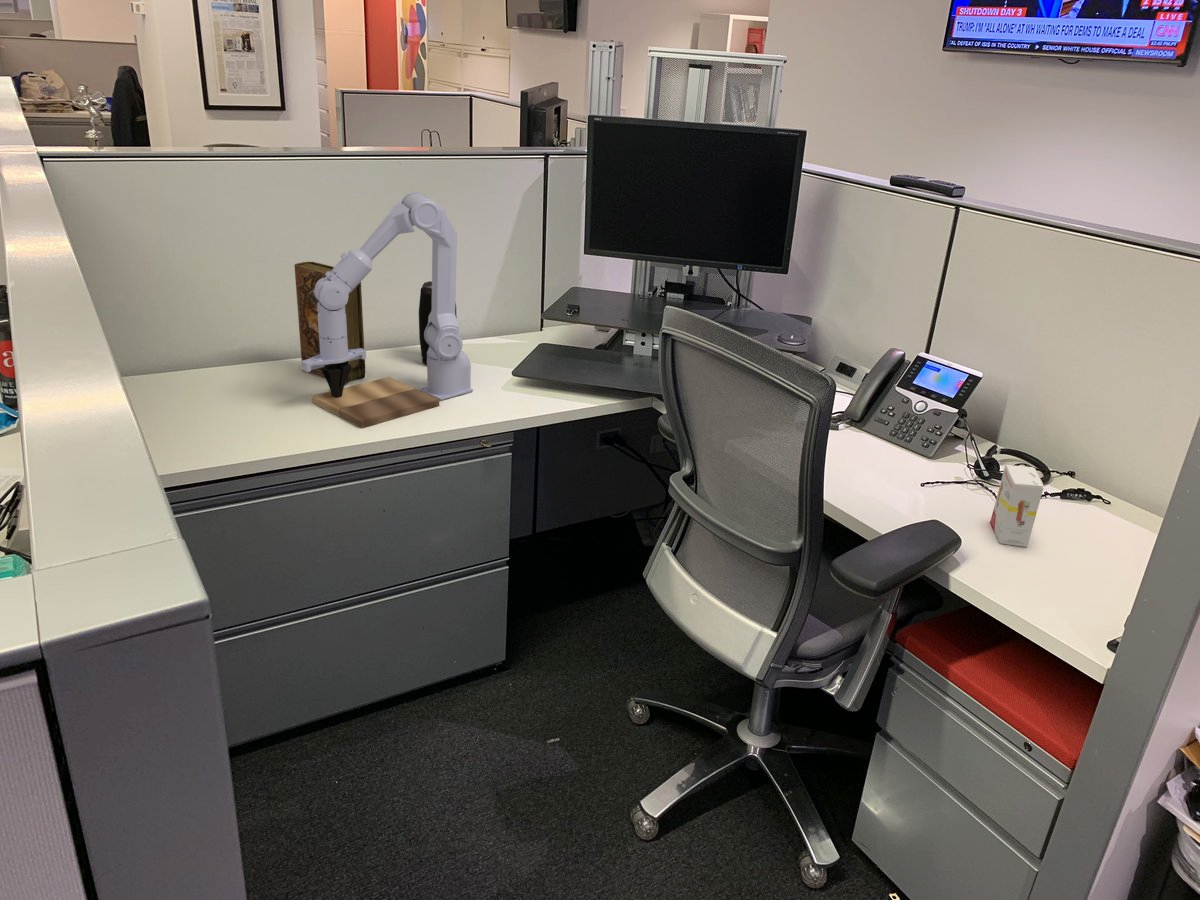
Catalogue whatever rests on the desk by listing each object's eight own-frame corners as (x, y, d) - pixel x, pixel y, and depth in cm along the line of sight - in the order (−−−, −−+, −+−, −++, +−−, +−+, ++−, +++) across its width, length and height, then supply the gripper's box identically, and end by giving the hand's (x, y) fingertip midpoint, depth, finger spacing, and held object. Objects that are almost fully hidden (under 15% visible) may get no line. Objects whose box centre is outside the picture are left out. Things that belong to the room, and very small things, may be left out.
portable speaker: (463, 360, 228) (463, 284, 220) (441, 371, 220) (441, 291, 212) (434, 354, 231) (433, 278, 223) (412, 364, 223) (410, 285, 215)
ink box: (988, 521, 165) (1004, 462, 160) (1017, 525, 164) (1034, 466, 159) (997, 543, 157) (1014, 482, 152) (1027, 548, 156) (1045, 487, 152)
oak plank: (389, 382, 210) (388, 376, 209) (415, 394, 204) (415, 388, 203) (312, 402, 196) (311, 396, 196) (338, 415, 190) (337, 409, 190)
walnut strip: (416, 395, 204) (416, 388, 203) (439, 405, 199) (439, 399, 198) (339, 416, 190) (338, 409, 189) (361, 428, 185) (361, 421, 185)
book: (298, 369, 214) (290, 264, 204) (316, 364, 219) (309, 260, 208) (348, 386, 207) (342, 277, 196) (365, 379, 211) (360, 273, 201)
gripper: (351, 325, 198) (354, 383, 204) (291, 336, 188) (296, 398, 194) (370, 332, 194) (373, 392, 199) (310, 345, 184) (314, 407, 189)
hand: (336, 396), depth 196 cm, fingers closed
